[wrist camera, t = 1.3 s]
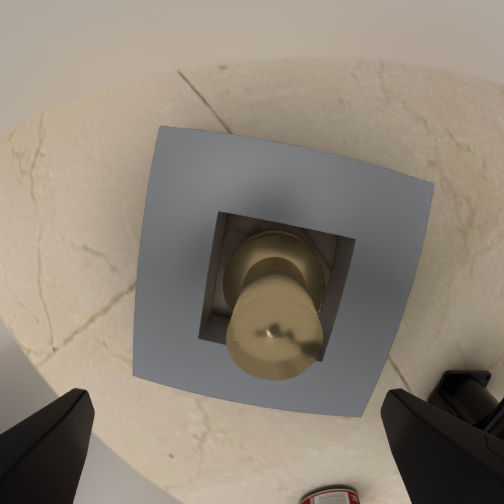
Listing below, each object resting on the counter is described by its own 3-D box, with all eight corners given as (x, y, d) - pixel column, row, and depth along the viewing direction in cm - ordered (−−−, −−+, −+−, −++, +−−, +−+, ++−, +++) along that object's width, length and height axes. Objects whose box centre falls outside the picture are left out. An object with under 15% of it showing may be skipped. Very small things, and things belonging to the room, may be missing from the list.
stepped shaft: (326, 239, 20) (373, 279, 10) (306, 322, 21) (327, 411, 12) (238, 222, 20) (206, 246, 11) (223, 306, 22) (187, 387, 12)
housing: (407, 185, 19) (434, 183, 15) (349, 386, 22) (361, 417, 18) (179, 137, 20) (159, 125, 16) (152, 349, 23) (132, 375, 19)
